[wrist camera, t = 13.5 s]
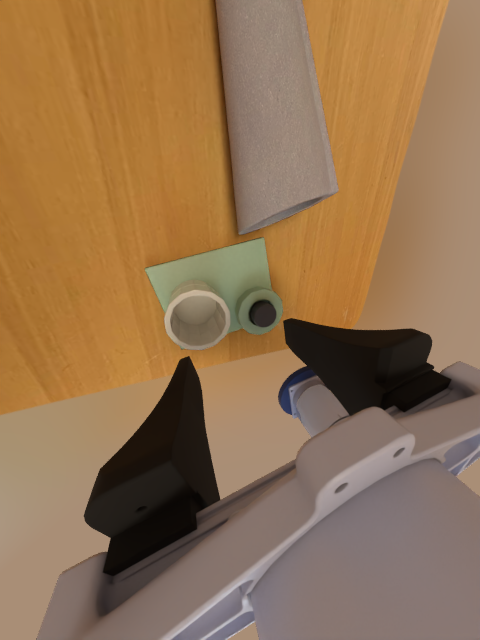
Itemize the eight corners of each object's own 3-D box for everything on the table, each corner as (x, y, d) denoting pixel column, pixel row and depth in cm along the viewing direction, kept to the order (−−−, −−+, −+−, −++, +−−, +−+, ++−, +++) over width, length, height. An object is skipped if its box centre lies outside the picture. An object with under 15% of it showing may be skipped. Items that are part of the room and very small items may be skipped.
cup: (224, 317, 22) (237, 337, 17) (179, 332, 21) (178, 358, 16) (211, 273, 19) (221, 281, 14) (160, 288, 18) (151, 302, 13)
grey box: (-184, -1202, 3) (252, 221, 12) (225, -1018, 4) (356, 181, 13) (76, -197, 11) (231, 239, 19) (207, -209, 12) (299, 213, 20)
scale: (276, 318, 25) (285, 325, 23) (183, 351, 23) (183, 363, 20) (263, 236, 20) (273, 235, 18) (145, 267, 18) (140, 270, 16)
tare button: (272, 318, 22) (278, 323, 21) (252, 325, 22) (256, 330, 20) (268, 298, 21) (275, 301, 20) (247, 305, 20) (252, 309, 19)
